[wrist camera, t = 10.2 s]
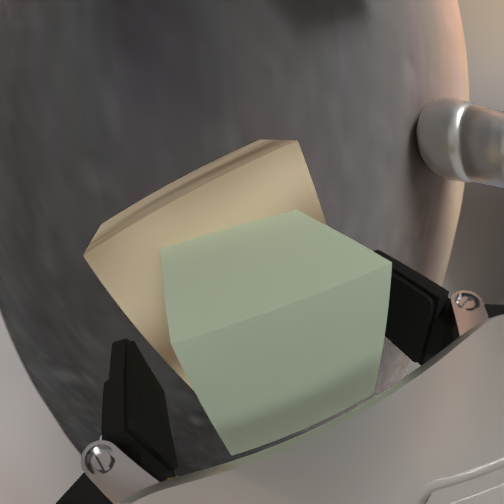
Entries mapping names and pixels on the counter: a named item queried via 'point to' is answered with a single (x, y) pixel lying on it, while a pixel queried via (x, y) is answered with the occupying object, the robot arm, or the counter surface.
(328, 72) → the counter surface
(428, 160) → the plastic bottle
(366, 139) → the counter surface
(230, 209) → the beech block
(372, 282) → the sage-green block
